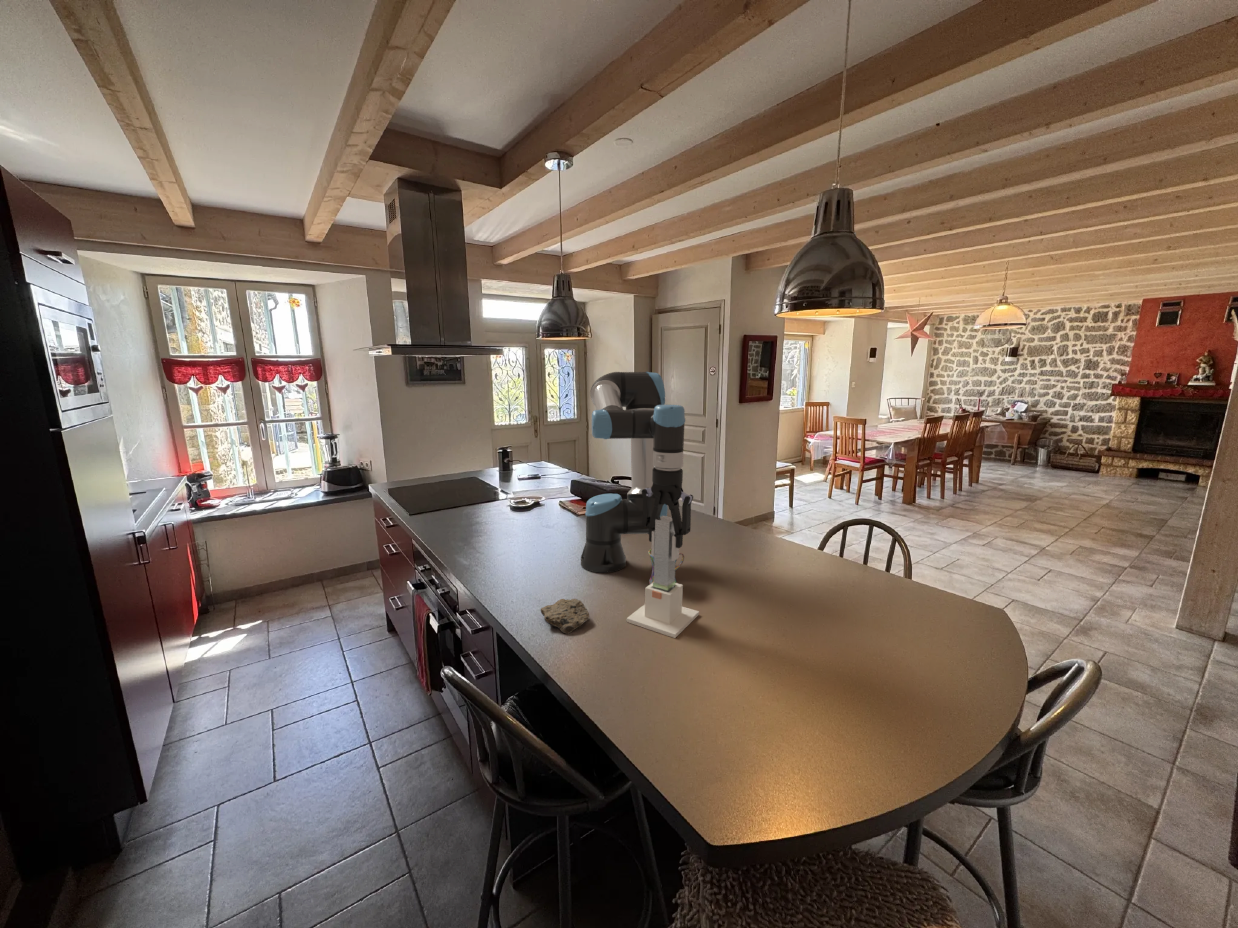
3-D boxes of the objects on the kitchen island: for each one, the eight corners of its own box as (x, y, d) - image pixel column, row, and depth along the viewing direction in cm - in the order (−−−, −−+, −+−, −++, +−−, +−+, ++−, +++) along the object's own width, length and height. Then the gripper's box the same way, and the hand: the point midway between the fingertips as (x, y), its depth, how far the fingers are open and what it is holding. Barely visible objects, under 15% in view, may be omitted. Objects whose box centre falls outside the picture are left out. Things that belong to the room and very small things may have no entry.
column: (660, 587, 131) (662, 515, 127) (675, 591, 129) (677, 518, 125) (652, 593, 127) (654, 519, 124) (667, 597, 125) (669, 522, 121)
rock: (551, 638, 120) (551, 621, 119) (538, 616, 130) (538, 601, 129) (593, 628, 124) (593, 612, 124) (578, 607, 135) (577, 593, 134)
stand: (653, 600, 139) (653, 571, 137) (698, 614, 131) (700, 583, 130) (626, 621, 127) (627, 589, 126) (674, 638, 120) (676, 603, 118)
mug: (657, 594, 143) (658, 559, 141) (642, 582, 151) (642, 549, 149) (691, 586, 148) (693, 553, 146) (674, 575, 157) (675, 543, 154)
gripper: (628, 465, 123) (627, 553, 128) (695, 474, 114) (691, 569, 118) (643, 461, 130) (642, 545, 134) (707, 469, 120) (703, 559, 124)
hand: (665, 556), depth 126 cm, fingers open, 5 cm apart
